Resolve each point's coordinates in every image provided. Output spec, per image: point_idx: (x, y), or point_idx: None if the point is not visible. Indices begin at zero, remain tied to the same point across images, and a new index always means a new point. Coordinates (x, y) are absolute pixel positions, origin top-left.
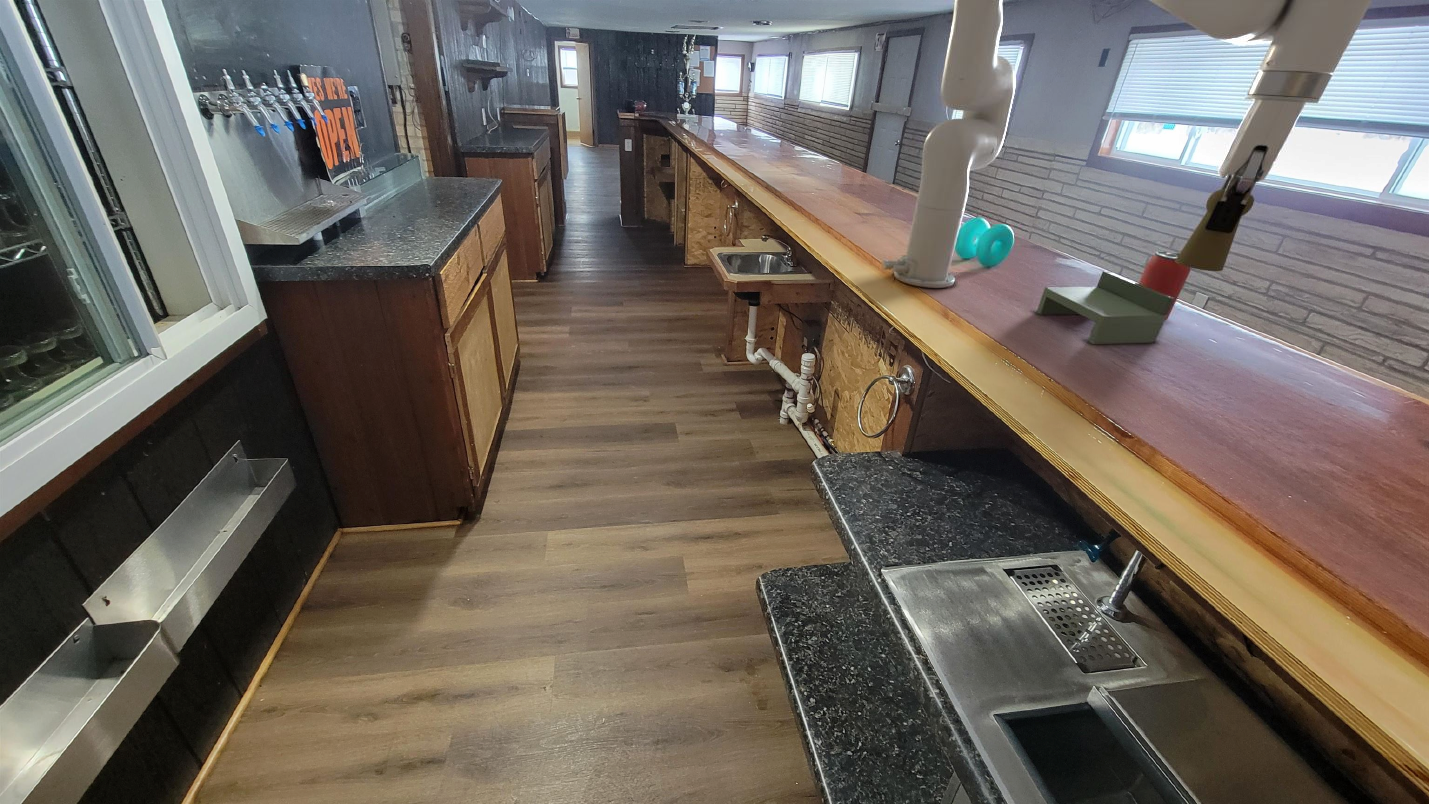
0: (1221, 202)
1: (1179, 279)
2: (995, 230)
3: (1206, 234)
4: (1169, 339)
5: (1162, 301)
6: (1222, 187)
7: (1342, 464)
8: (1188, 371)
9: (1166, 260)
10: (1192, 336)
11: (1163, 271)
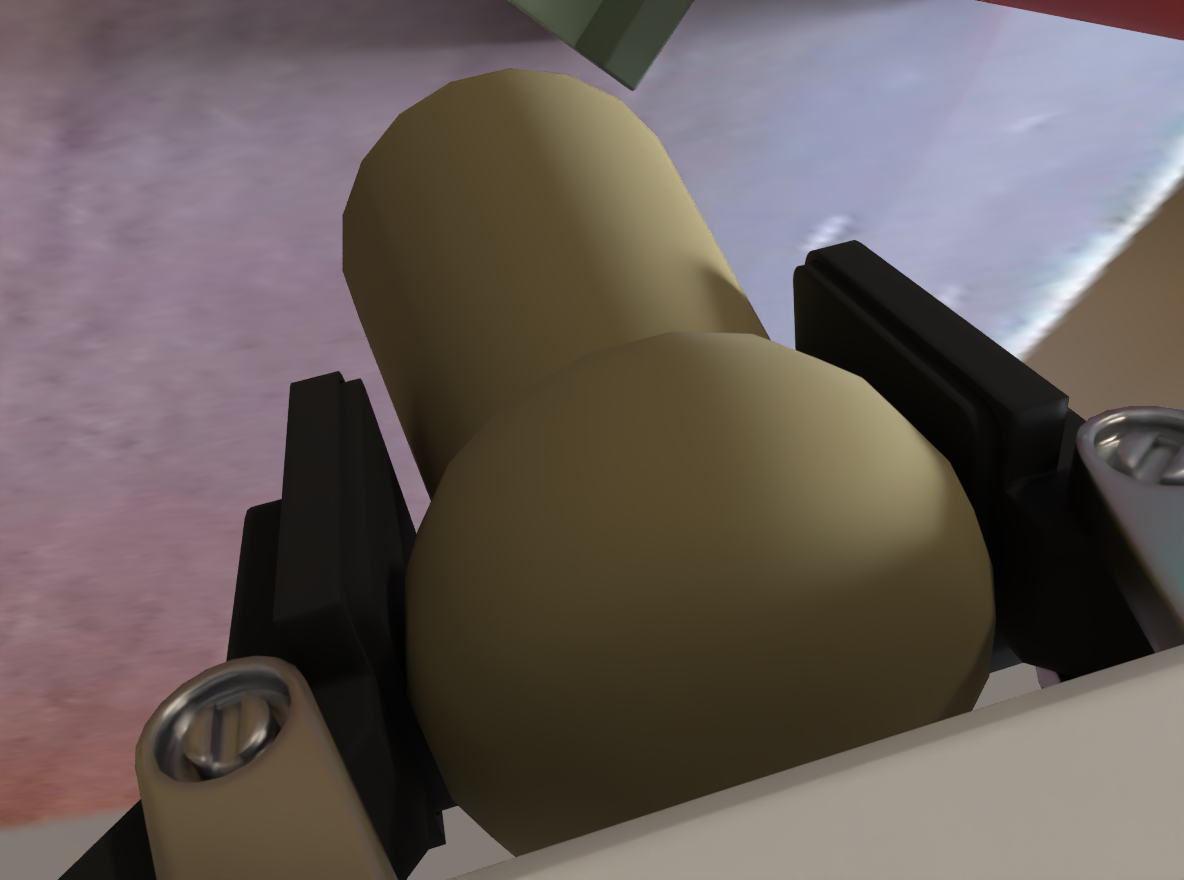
0: (292, 652)
1: (1107, 6)
2: None
3: (403, 360)
4: (688, 86)
5: (614, 24)
6: (1141, 522)
7: None
8: (279, 266)
9: None
10: (827, 155)
11: None
